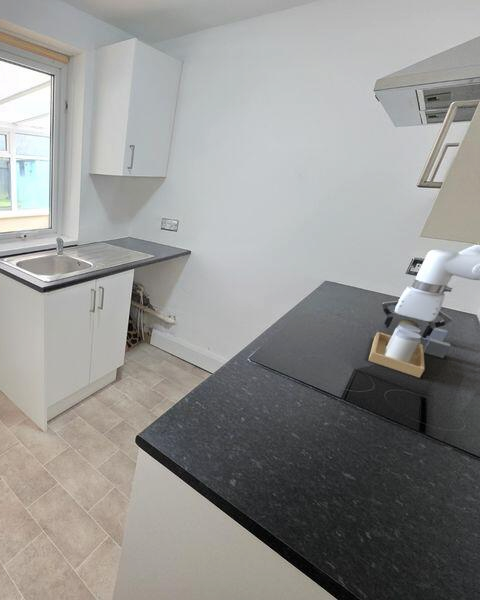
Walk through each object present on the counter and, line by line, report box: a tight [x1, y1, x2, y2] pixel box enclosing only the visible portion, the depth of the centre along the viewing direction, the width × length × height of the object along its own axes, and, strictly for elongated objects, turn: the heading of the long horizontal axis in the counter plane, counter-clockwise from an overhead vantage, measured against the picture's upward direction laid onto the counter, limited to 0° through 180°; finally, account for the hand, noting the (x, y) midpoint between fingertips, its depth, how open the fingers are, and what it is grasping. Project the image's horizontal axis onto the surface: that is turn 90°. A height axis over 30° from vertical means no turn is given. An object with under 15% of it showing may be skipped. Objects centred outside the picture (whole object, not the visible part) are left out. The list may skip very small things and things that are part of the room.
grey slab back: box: [422, 327, 448, 342], centre depth 122 cm, size 5×3×5 cm, turn 45°
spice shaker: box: [384, 324, 422, 353], centre depth 107 cm, size 6×6×11 cm
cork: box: [386, 319, 420, 346], centre depth 112 cm, size 6×6×11 cm
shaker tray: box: [367, 331, 426, 378], centre depth 109 cm, size 13×23×3 cm, turn 135°
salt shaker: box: [384, 330, 423, 363], centre depth 103 cm, size 6×6×11 cm
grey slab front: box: [423, 338, 451, 359], centre depth 112 cm, size 5×3×5 cm, turn 45°
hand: (404, 331), depth 111 cm, fingers open, 9 cm apart
